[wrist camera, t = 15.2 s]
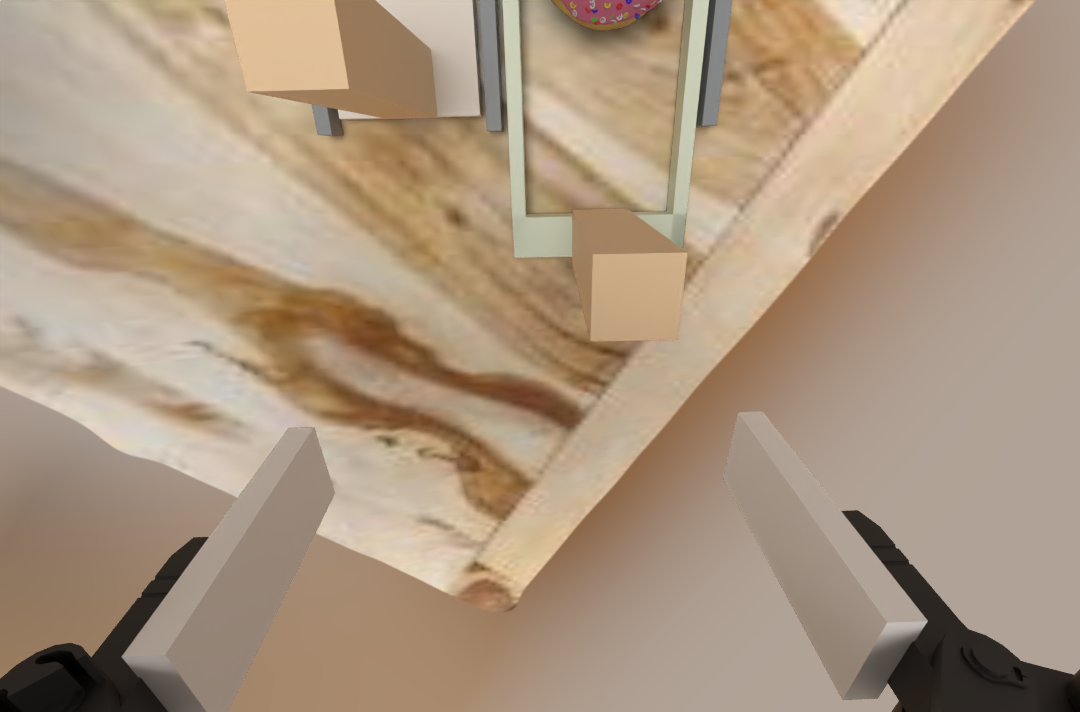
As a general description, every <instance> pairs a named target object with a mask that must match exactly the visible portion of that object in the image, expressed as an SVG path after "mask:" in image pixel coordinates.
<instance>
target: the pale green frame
mask: <svg viewBox="0 0 1080 712" xmlns="http://www.w3.org/2000/svg"><path fill="white" fill-rule="evenodd" d="M502 1H503V23H504V45H505V67H506V90H507V112H508V134H509V156H510V179H511V201H512V223H513V245H514V258H526V257H572V265H573V270H574V274H575V278H576V282H577V286H578V291H579V295H580V299H581V303H582V307H583V312H584V316H585V320H586V324H587V329H588V333H589V337H590V341H648V340H678V334H679V325H680V316H681V307H682V298H683V289H684V280H685V271H686V262H687V252H686V251H685V250H683V242H684V233H685V223H686V214H687V204H688V195H689V185H690V176H691V167H692V157H693V148H694V138H695V129H696V119H697V110H698V101H699V91H700V82H701V72H702V63H703V54H704V44H705V35H706V25H707V16H708V6H709V0H685V8H684V19H683V30H682V41H681V53H680V64H679V75H678V87H677V98H676V109H675V121H674V132H673V143H672V154H671V166H670V177H669V188H668V200H667V211H648V212H631V211H629V210H628V209H626V208H621V209H574V210H572V213H554V214H527V212H526V181H525V150H524V120H523V89H522V58H521V27H520V0H502Z"/></svg>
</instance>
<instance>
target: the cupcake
mask: <svg viewBox="0 0 1080 712" xmlns="http://www.w3.org/2000/svg"><path fill="white" fill-rule="evenodd" d="M552 1H553V2H554V4H555V5H556V6H557V7H558V8H559V9H560V10H561V11H562V12H564V13H565V14H566V15H567V16H568V17H570V18H571V19H572V20H574V21H575V22H577V23H579V24H580V25H582V26H585V27H587V28H590V29H594V30H610V29H616V28H622V27H625V26H628V25H630V24H631V23H633V22H634V21H636V20H637V19H639V18H640V17H642V16H643V15H644V14H645V13H646V12H647V11H649V10H651V9H653V8H654V7H655V6H657V5H658V4H659V3H660V2H661V1H662V0H552Z"/></svg>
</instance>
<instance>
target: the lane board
mask: <svg viewBox="0 0 1080 712" xmlns="http://www.w3.org/2000/svg"><path fill="white" fill-rule="evenodd" d="M731 4H732V0H709V6H708V16H707V25H706V35H705V44H704V54H703V63H702V72H701V82H700V91H699V101H698V110H697V119H696V127H708V126H714V125H717V118H718V110H719V102H720V94H721V86H722V78H723V70H724V61H725V53H726V45H727V37H728V29H729V21H730V13H731ZM479 7H480V23H481V39H482V55H483V71H484V88H485V104H486V120H487V131H489V132H504V126H503V106H502V85H501V65H500V44H499V24H498V3H497V0H479ZM312 109H313V114H314V119H315V124H316V129H317V134H318V135H326V136H340V135H343V131H342V126H341V120H340V119H339V114H338V109H334V108H328V107H323V106H318V105H313V104H312Z"/></svg>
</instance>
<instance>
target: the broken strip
mask: <svg viewBox="0 0 1080 712" xmlns="http://www.w3.org/2000/svg"><path fill="white" fill-rule="evenodd" d="M224 1H225V5H226V9H227V13H228V17H229V21H230V25H231V29H232V33H233V37H234V41H235V45H236V49H237V53H238V57H239V61H240V65H241V69H242V74H243V78H244V82H245V86H246V90H247V92H252V93H257V94H262V95H267V96H272V97H277V98H282V99H288V100H293V101H298V102H303V103H308V104H313V105H318V106H323V107H328V108H334V109H338V114H339V119H343V120H364V119H404V118H444V117H482V105H481V90H480V75H479V59H478V44H477V29H476V13H475V0H224Z"/></svg>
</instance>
